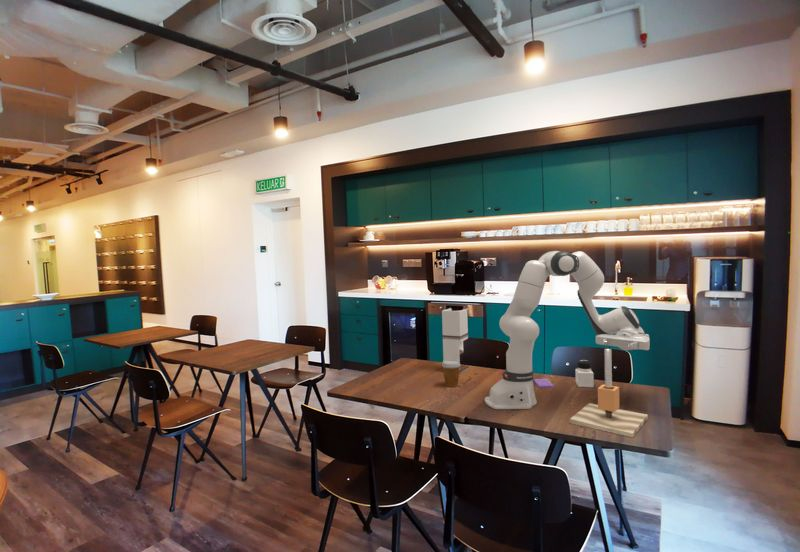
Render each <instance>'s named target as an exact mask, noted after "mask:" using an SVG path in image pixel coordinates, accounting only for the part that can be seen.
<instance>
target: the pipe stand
mask: <svg viewBox="0 0 800 552" xmlns="http://www.w3.org/2000/svg"><path fill="white" fill-rule="evenodd" d="M648 418H649V416H648V414H646V413H640V412H636V411H632V410H624V409H622V408H618V409H617V410H616V411H615V412H613V413H612V418H607V417H605V410H602V409H598V404H594V403H587V404H586V405H585V406H584V407H582V408H581V409H580V410H579V411H578V412H576V414H574V415H573V416H571V417H570V418H569V424H573V425H577V426H580V427H581V426H582V427H586V428H590V429H594V430H597V431H603V432H606V431H607V433H611V432H612V434H616V435H620V436H625V437H628V438H634V437H635V435H636V434H637V433H638V432H639V430H640V429H641V428H642V427H643V425H644V424H645V423H646V422H647V421H648Z"/></svg>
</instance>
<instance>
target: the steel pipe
mask: <svg viewBox="0 0 800 552" xmlns="http://www.w3.org/2000/svg"><path fill="white" fill-rule="evenodd" d="M612 353H613V352H612V349H611V348H604V385H605V389H611V390H612V386H613V373H612V371H613V368H612V367H613V364H612V358H613V357H612ZM612 413H613V412H612V411H607V410H605V417H607V418H612Z"/></svg>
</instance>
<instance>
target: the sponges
mask: <svg viewBox="0 0 800 552" xmlns="http://www.w3.org/2000/svg"><path fill="white" fill-rule="evenodd" d="M533 383H534V384H535V383H536V384H535V385H536V386H537V388H538V387H539V388H538V389H554V388H555V387H554V384H552V382H551V381H550V380H549V379H548V378H546V377H545V378H534V381H533Z"/></svg>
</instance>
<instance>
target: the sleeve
mask: <svg viewBox="0 0 800 552" xmlns="http://www.w3.org/2000/svg"><path fill="white" fill-rule="evenodd" d="M597 405H598V409H602V410H607V411H612V412H615V411H616V410H617V409H620V387H619V386H613V385H612V390H611V389H605V384H601V385H600V386H599V387H598V388H597Z"/></svg>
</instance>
